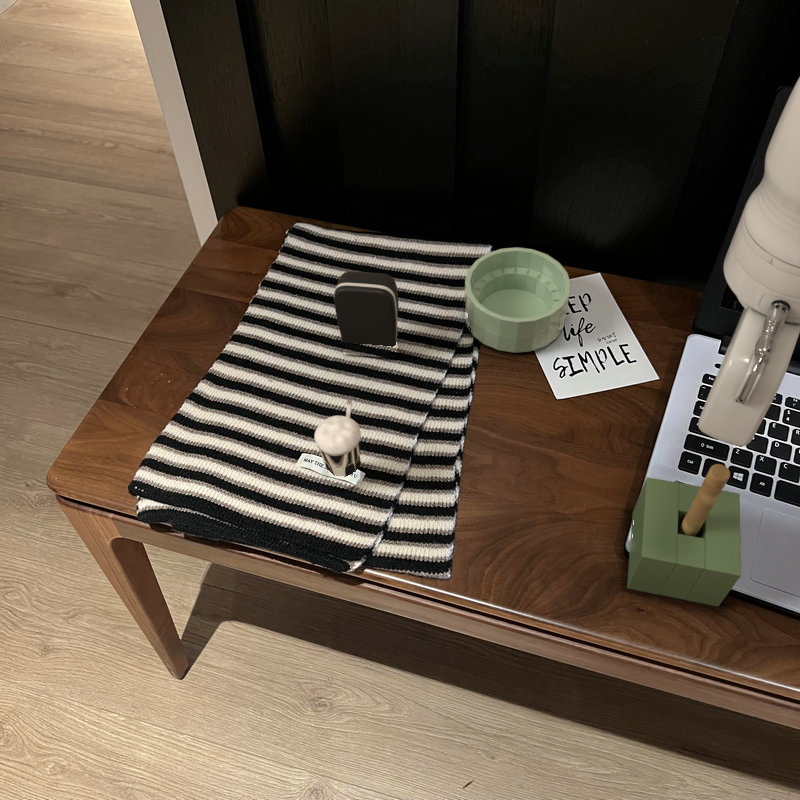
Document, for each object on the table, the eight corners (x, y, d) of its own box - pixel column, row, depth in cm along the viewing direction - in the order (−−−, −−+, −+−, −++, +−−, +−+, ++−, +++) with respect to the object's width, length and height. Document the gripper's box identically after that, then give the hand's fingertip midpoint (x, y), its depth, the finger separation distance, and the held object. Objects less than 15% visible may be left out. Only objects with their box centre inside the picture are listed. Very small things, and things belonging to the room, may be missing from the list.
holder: (718, 528, 78) (739, 493, 72) (718, 606, 73) (741, 575, 67) (632, 512, 79) (646, 476, 74) (626, 588, 74) (641, 556, 69)
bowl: (569, 290, 98) (575, 254, 94) (557, 362, 91) (564, 328, 87) (474, 277, 100) (475, 241, 96) (455, 347, 93) (456, 313, 89)
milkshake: (377, 461, 84) (370, 407, 76) (355, 501, 81) (345, 449, 73) (340, 448, 85) (329, 392, 78) (317, 486, 83) (303, 433, 75)
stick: (682, 552, 76) (730, 465, 64) (681, 566, 75) (730, 482, 63) (665, 548, 77) (709, 462, 64) (664, 563, 76) (709, 478, 63)
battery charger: (403, 337, 95) (399, 268, 86) (398, 361, 93) (393, 293, 83) (347, 332, 96) (337, 263, 87) (341, 356, 93) (330, 288, 84)
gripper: (813, 385, 46) (741, 502, 57) (876, 186, 56) (805, 317, 67) (706, 348, 48) (657, 467, 59) (786, 162, 58) (731, 294, 69)
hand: (736, 386), depth 63 cm, fingers open, 8 cm apart
